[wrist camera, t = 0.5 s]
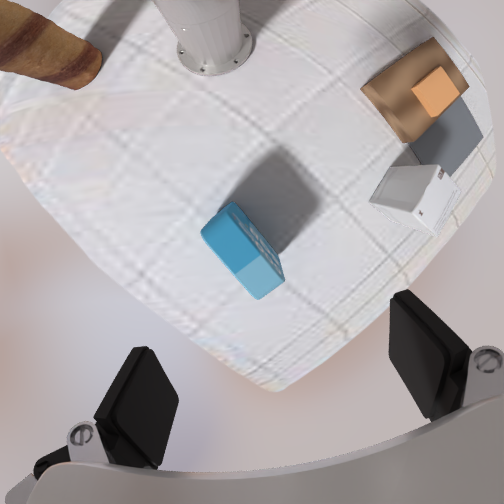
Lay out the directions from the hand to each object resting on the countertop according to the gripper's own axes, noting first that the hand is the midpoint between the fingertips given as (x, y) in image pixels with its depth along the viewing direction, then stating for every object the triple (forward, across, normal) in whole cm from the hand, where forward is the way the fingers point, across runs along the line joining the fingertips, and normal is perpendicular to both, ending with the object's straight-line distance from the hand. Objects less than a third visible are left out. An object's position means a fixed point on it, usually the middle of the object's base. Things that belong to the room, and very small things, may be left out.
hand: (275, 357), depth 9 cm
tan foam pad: (+32, -35, -16) cm, 50 cm away
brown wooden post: (+36, +26, -37) cm, 58 cm away
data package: (+36, +3, +4) cm, 36 cm away
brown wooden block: (+36, -34, -17) cm, 53 cm away
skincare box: (+36, -23, +2) cm, 43 cm away
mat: (+36, -40, -7) cm, 54 cm away
